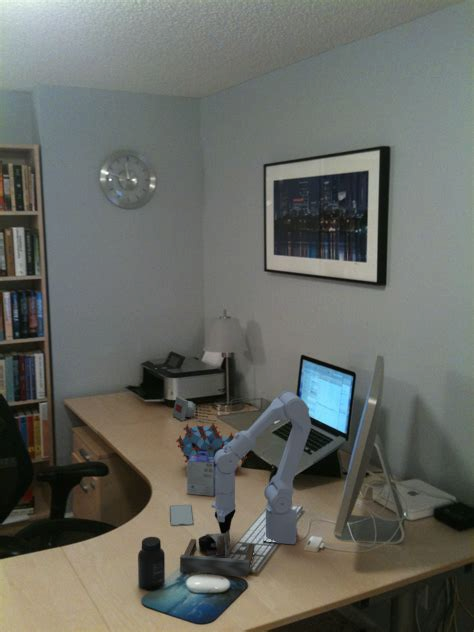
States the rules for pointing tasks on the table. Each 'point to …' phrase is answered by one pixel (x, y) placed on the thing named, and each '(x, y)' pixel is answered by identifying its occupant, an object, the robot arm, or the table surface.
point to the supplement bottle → (151, 565)
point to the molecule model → (203, 442)
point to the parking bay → (215, 563)
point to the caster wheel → (216, 544)
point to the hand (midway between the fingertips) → (225, 534)
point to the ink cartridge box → (201, 475)
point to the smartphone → (181, 515)
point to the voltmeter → (187, 409)
